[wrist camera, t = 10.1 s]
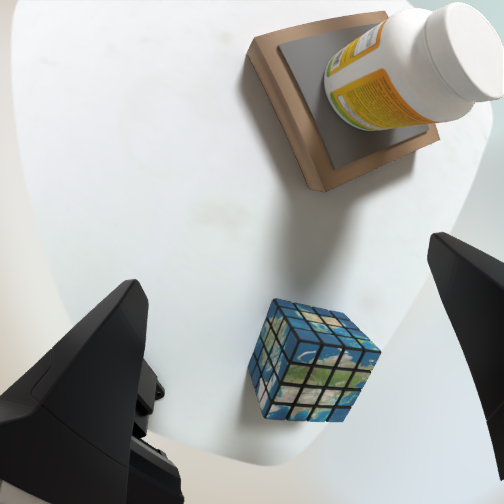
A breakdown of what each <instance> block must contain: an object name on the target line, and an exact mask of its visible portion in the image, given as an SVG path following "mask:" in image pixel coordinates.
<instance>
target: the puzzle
mask: <svg viewBox="0 0 504 504" xmlns="http://www.w3.org/2000/svg"><path fill="white" fill-rule="evenodd" d="M260 334H261V336H260V337H259V339H258V341H257V344H256V347H255V349H254V353H253V355H252V357H251V360H250V363H249V365H248V369H249V372H250V375H251V377H252V382H253V385H254V388H255V390H256V391H255V392H256V395H257V399H258V402H259V403H260V408H261V412H262V415H263V417H264V418H265V419H272V420H285V418H286V420H289V421H306V420H307V421H309V422H325V421H326V422H343V421H344V419H345V417H346V416H347V414H348V413H349V411H350V409H351V406H352V405H353V404H354V403H355V401H356V399H357V397H358V396H359V394H360V392H361V389H362V388H363V387H364V385H365V383H366V381H367V379H368V378H369V376H370V374H371V371H370V370H373V368H374V366H375V364H376V362H377V360H378V358H379V356H380V354H381V351H380V349H379V348H378V347H377V346H376V345H375V344H374V343H373V342H372V341H370V340H369V338H368V337H367V336H366V335H365V334H364V333H363V332H362V331H360V330H359V328H358V327H357V326H356V325H355V324H354V323H353V322H351V321H350V319H349V318H348V317H347V316H346V315H345V314H344V313H341V312H336V311H331V310H330V311H328V310H326V309H322V308H317V307H310V306H308V305H303V304H299V303H293V304H292V303H291V302H290V301H285V300H281V299H276V298H275V299H273V301H272V303H271V305H270V308H269V311H268V314H267V318H266V319H265V322H264V325H263V328H262V330H261V333H260Z"/></svg>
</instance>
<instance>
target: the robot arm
mask: <svg viewBox="0 0 504 504" xmlns="http://www.w3.org/2000/svg"><path fill="white" fill-rule="evenodd" d="M427 261H428V264H429V267H430V270H431V272H432V275H433V278H434V281H435V283H436V286H437V289H438V292H439V295H440V298H441V300H442V303H443V305H444V308H445V310H446V312H447V314H448V317H449V319H450V321H451V324H452V326H453V328H454V330H455V333H456V335H457V338H458V340H459V342H460V345H461V348H462V350H463V353H464V355H465V358H466V361H467V363H468V366H469V369H470V371H471V374H472V377H473V380H474V383H475V386H476V389H477V392H478V395H479V398H480V401H481V404H482V408H483V411H484V414H485V418H486V420H487V421H486V422H487V426H488V429H489V433H490V437H491V441H492V444H493V449H494V453H495V458H496V463H497V467H498V472H499V477H500V480H501V481H502V480H504V263H503V262H501V261H499V260H497V259H495V258H494V257H492V256H490V255H488V254H486V253H484V252H482V251H481V250H479V249H476V248H475V247H473V246H471V245H469V244H467V243H465V242H463V241H461V240H459V239H457V238H455V237H453V236H451V235H449V234H447V233H445V232H439V233H433V234H432V235H431V237H430V242H429V248H428V254H427ZM148 306H149V304H148V299H147V296H146V295H145V293H144V291H143V289H142V287H141V285H140V283H139V281H138V280H136V279H131V280H125V281H124V282H122V283H121V284H120V285H119V286H118V287H117V288H116V289H114V290H113V291H112V292H111V293H110V294H109V295H108V296H107V297H106V298H104V299H103V300H102V301H101V302H100V303H99V304H98V305H97V306H96V307H95V308H94V309H92V310H91V311H90V312H89V313H88V314H87V315H86V316H85V317H84V318H83V319H82V320H81V321H79V322H78V323H77V324H76V325H75V326H74V327H73V328H72V329H71V330H70V331H69V332H68V333H67V334H66V335H65V336H64V337H63V338H62V339H61V340H60V341H58V342H57V343H56V345H54V346H53V347H52V349H50V350H49V351H48V352H47V353H46V354H45V355H44V356H43V357H42V358H41V359H40V360H39V361H38V362H37V363H36V364H35V365H34V366H33V367H32V368H30V369H29V370H28V371H27V372H26V373H25V374H24V375H23V376H22V377H20V378H19V379H18V380H17V381H16V382H15V383H14V384H13V385H12V386H10V387H9V388H8V389H7V390H6V391H5V392H4V393H3V394H2V395H0V504H184V496H183V495H182V492H181V478H180V475H179V472H178V469H177V467H176V466H175V465H174V464H173V463H172V462H171V461H170V460H168V458H167V457H166V454H165V453H164V452H163V451H161V450H159V449H155V448H154V447H152V446H151V445H149V444H148V443H146V442H145V441H143V440H142V439H141V438H142V437H145V436H146V433H147V424H148V416H149V415H151V414H152V413H153V409H154V401H155V400H158V399H160V398H162V397H164V395H165V390H164V388H163V387H162V385H161V384H160V383H159V382H158V380H157V376H156V374H155V373H154V372H153V370H152V369H151V368H150V366H149V365H148V364H147V362H146V361H145V360H144V358H143V357H144V351H145V343H146V330H147V318H148ZM156 391H159V392H161V393H157V392H156Z"/></svg>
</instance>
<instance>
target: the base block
mask: <svg viewBox="0 0 504 504" xmlns="http://www.w3.org/2000/svg"><path fill="white" fill-rule="evenodd" d="M387 18H389V17H388V15H387V14H386V12H385V11H378V12H370V13H362V14H355V15H349V16H342V17H337V18H331V19H326V20H321V21H316V22H311V23H307V24H302V25H298V26H294V27H290V28H286V29H282V30H278V31H275V32H271V33H268V34H264V35H261V36H258V37H254V39H253V41H252V43H251V45H250V47H249V49H248V51H247V55H248V57H249V59H250V60H251V62H252V64H253V66H254V68H255V70H256V72H257V74H258V76H259V78H260V80H261V82H262V84H263V86H264V89H265V91H266V93H267V95H268V97H269V99H270V101H271V103H272V105H273V107H274V110H275V112H276V114H277V116H278V118H279V120H280V122H281V125H282V127H283V129H284V131H285V133H286V136H287V138H288V140H289V142H290V145H291V147H292V149H293V152H294V154H295V156H296V158H297V161H298V163H299V165H300V168H301V170H302V173H303V175H304V177H305V180H306V182H307V185H308V187H309V189H312V190H317V191H322V192H327V191H329V190H331V189H333V188H335V187H337V186H339V185H342V184H344V183H346V182H348V181H350V180H352V179H354V178H357V177H359V176H361V175H363V174H365V173H367V172H370V171H372V170H374V169H376V168H378V167H380V166H383V165H385V164H387V163H389V162H391V161H394V160H396V159H398V158H400V157H403V156H405V155H407V154H409V153H411V152H414V151H416V150H418V149H420V148H423V147H425V146H427V145H429V144H432V143H434V142H436V141H438V140H440V137H439V134H438V131H437V128H436V125H435V123H431V124H423V125H415V126H407V127H399V128H393V129H387V130H379V131H367V130H362V129H358V128H356V127H353V126H352V125H350V124H348V123H347V122H345V121H344V120H343V119H342V118H341V117H340V116H339V115H338V114H337V113H336V111H335V110H334V109H333V107H332V105H331V104H330V102H329V100H328V97H327V95H326V91H325V86H324V75H325V70H326V67H327V65H328V63H329V61H330V60H331V58H332V57H333V56H334V55H335V54H337V53H338V52H339V51H340V50H342V49H343V48H344V47H346V46H347V45H349V44H350V43H352V42H353V41H354V40H356V39H357V38H359V37H360V36H362V35H363V34H365V33H366V32H368V31H369V30H371V29H372V28H374V27H375V26H377V25H378V24H380V23H381V22H383V21H384V20H386V19H387Z"/></svg>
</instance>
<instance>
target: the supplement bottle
mask: <svg viewBox="0 0 504 504" xmlns="http://www.w3.org/2000/svg"><path fill="white" fill-rule="evenodd" d="M324 86H325V91H326V95H327V97H328V100H329V102H330V104H331V105H332V107H333V109H334V110H335V111H336V113H337V114H338V115H339V116H340V117H341V118H342V119H343V120H344V121H345V122H347V123H348V124H350V125H352V126H353V127H356V128H358V129H362V130H367V131H379V130H387V129H393V128H399V127H407V126H415V125H423V124H431V123H440V122H448V121H453V120H457V119H459V118H461V117H463V116H464V115H466V114H467V113H468V112H469V111H470V110H471V109H472V107H473V105H474V104H475V102H484V101H491V100H497V99H500V98H502V97H503V96H504V47H503V44H502V43H501V40H500V38H499V36H498V35H497V33H496V31H495V30H494V28H493V27H492V26H491V24H490V23H489V22H488V21H487V19H486V18H485V17H484V16H483V15H482V14H481V13H479V12H478V11H477V10H476V9H474V8H473V7H471V6H469V5H467V4H464V3H452V4H449V5H447V6H444V7H442V8H440V9H437V10H435V11H433V12H431V11H428V10H425V9H418V8H412V9H406V10H403V11H400V12H398V13H396V14H394V15H392V16H391V17H389V18H387V19H386V20H384V21H383V22H381V23H380V24H378V25H377V26H375V27H374V28H372V29H371V30H369V31H368V32H366V33H365V34H363V35H362V36H360V37H359V38H357V39H356V40H354V41H353V42H352V43H350V44H349V45H347V46H346V47H344V48H343V49H342V50H340V51H339V52H338V53H337V54H335V55H334V56H333V57H332V58H331V60H330V61H329V63H328V65H327V67H326V70H325V75H324Z"/></svg>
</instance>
